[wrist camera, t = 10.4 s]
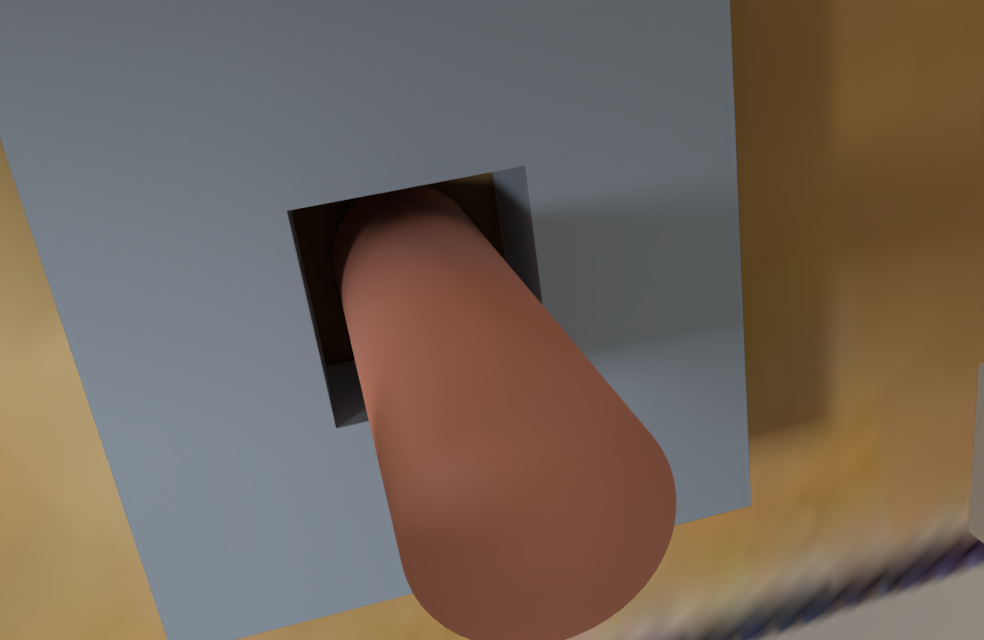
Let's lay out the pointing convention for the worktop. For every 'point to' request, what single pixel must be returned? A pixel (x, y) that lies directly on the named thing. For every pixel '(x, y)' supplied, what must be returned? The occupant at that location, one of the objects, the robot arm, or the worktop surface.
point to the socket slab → (345, 175)
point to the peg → (493, 432)
